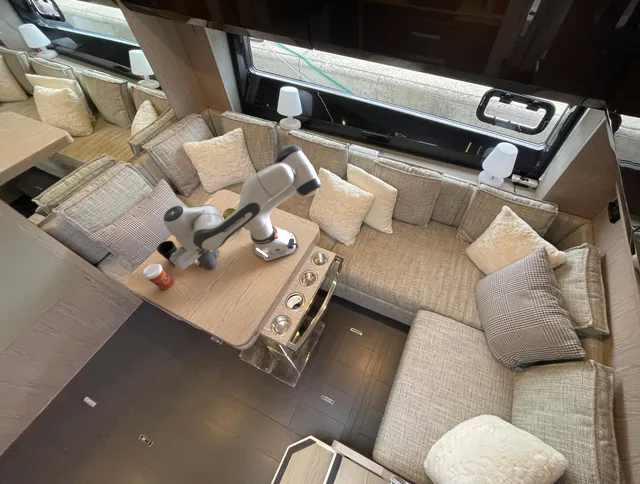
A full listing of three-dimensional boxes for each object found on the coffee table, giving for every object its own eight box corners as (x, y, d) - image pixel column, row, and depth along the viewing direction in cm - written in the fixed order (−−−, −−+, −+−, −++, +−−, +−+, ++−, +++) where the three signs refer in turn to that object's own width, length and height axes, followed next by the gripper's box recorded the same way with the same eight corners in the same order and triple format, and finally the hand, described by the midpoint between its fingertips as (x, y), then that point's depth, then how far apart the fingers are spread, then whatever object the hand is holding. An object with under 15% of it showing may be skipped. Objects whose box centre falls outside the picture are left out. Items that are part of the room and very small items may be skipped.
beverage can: (244, 220, 165) (238, 206, 155) (242, 230, 160) (236, 217, 150) (230, 221, 164) (223, 207, 155) (227, 231, 159) (220, 218, 150)
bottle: (214, 270, 122) (201, 252, 110) (201, 270, 122) (186, 252, 110) (219, 259, 126) (206, 240, 114) (206, 259, 125) (192, 240, 114)
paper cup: (164, 294, 133) (148, 280, 123) (154, 286, 136) (138, 272, 125) (178, 281, 138) (164, 267, 127) (168, 274, 140) (154, 259, 130)
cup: (178, 267, 143) (167, 254, 134) (165, 264, 144) (153, 251, 135) (187, 254, 148) (177, 242, 139) (174, 252, 149) (163, 239, 140)
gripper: (172, 262, 101) (189, 279, 112) (218, 226, 113) (228, 245, 123) (162, 253, 104) (179, 271, 114) (207, 219, 115) (219, 238, 125)
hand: (205, 257), depth 119 cm, fingers closed on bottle, 6 cm apart
